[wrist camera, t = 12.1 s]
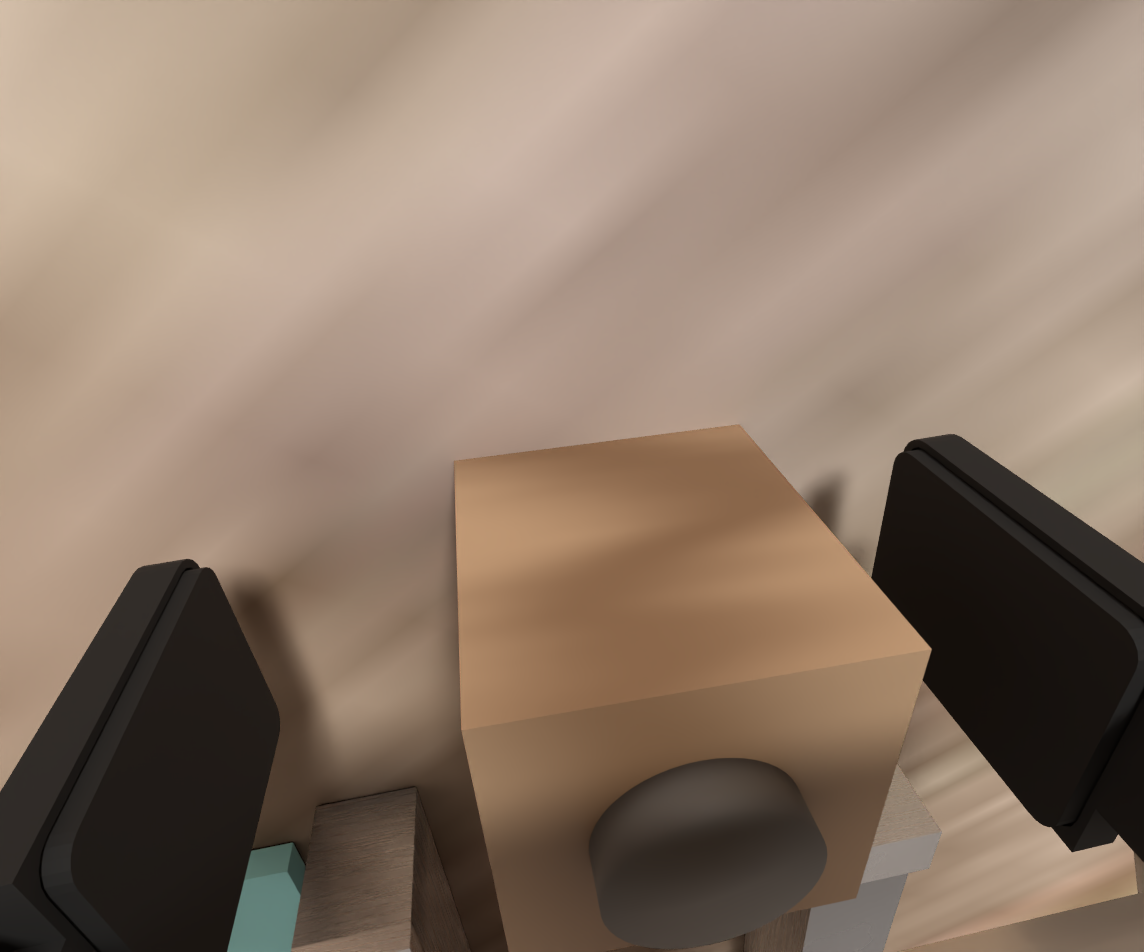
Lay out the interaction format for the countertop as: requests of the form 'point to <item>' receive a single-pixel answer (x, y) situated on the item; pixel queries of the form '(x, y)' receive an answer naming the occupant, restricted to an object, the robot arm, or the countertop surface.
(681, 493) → the wooden knob block
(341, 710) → the countertop surface
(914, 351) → the countertop surface
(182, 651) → the robot arm
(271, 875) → the pad
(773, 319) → the countertop surface
